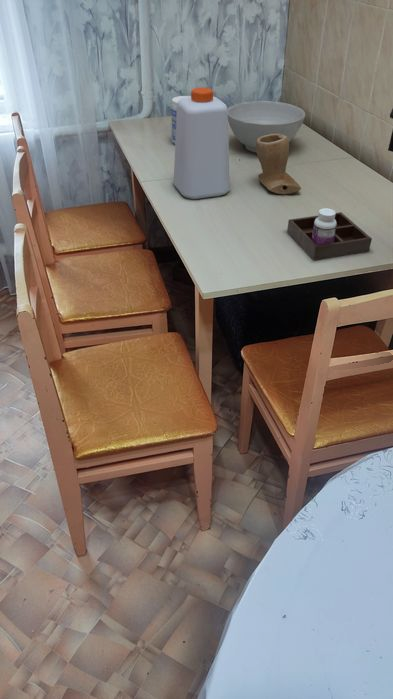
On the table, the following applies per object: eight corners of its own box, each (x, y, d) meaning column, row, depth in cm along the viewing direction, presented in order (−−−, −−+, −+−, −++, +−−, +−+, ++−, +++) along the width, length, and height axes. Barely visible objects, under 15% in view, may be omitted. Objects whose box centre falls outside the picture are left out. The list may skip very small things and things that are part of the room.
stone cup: (248, 178, 171) (252, 129, 162) (284, 175, 173) (289, 127, 164) (263, 198, 160) (267, 147, 150) (301, 195, 162) (308, 144, 152)
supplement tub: (167, 144, 195) (165, 100, 186) (180, 136, 202) (179, 94, 192) (190, 148, 192) (190, 104, 183) (203, 140, 198) (203, 97, 189)
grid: (368, 251, 136) (371, 238, 134) (313, 260, 132) (315, 247, 130) (338, 224, 147) (341, 212, 145) (287, 232, 144) (288, 219, 141)
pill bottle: (311, 241, 138) (316, 205, 132) (332, 243, 137) (338, 207, 131) (310, 251, 134) (315, 215, 128) (331, 253, 133) (338, 217, 127)
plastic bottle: (185, 202, 158) (184, 100, 140) (170, 182, 169) (167, 85, 151) (233, 195, 162) (238, 95, 144) (215, 176, 173) (218, 81, 155)
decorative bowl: (303, 138, 201) (308, 103, 193) (297, 164, 181) (301, 127, 173) (232, 132, 206) (234, 98, 198) (218, 157, 185) (219, 120, 178)
